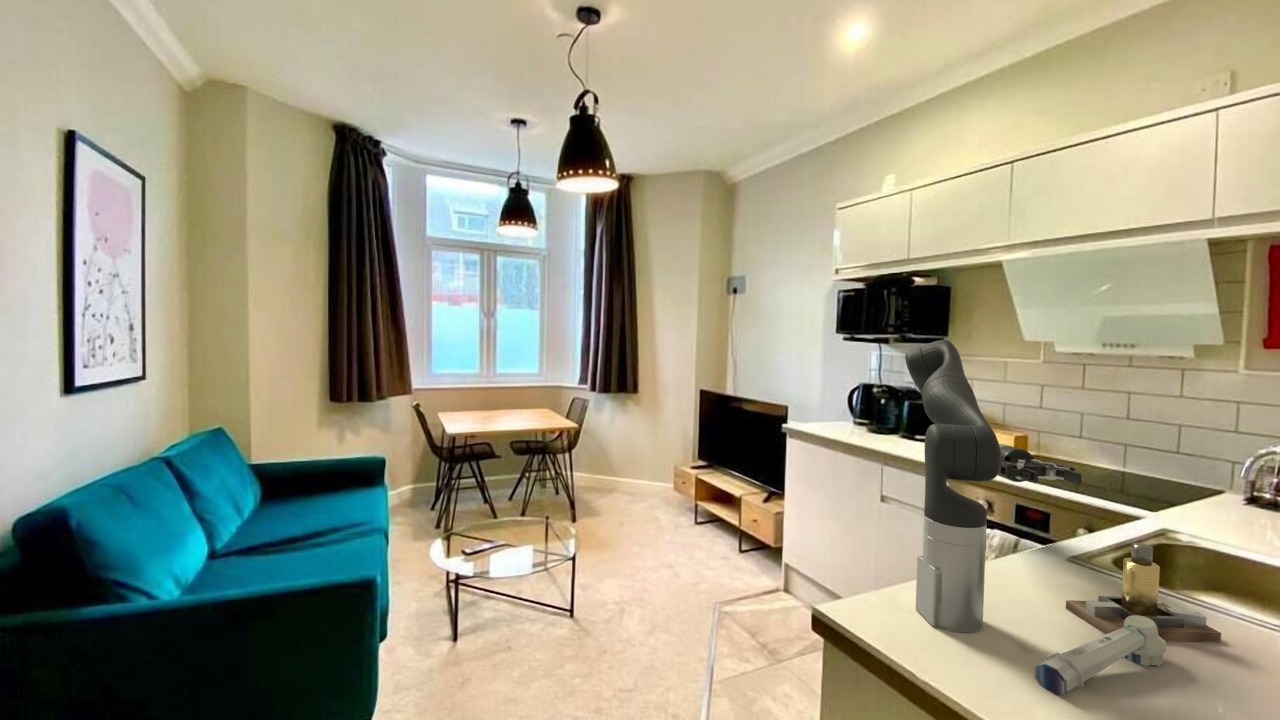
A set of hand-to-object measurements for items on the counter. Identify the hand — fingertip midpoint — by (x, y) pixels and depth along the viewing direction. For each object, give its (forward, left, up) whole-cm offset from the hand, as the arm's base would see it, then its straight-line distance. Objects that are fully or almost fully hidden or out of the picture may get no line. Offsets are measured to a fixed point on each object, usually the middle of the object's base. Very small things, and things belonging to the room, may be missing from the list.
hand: (1057, 478), depth 110 cm
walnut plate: (+1, -19, -20) cm, 27 cm away
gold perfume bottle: (+1, -18, -19) cm, 26 cm away
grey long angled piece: (-16, -33, -21) cm, 42 cm away
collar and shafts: (+1, -18, -19) cm, 26 cm away
